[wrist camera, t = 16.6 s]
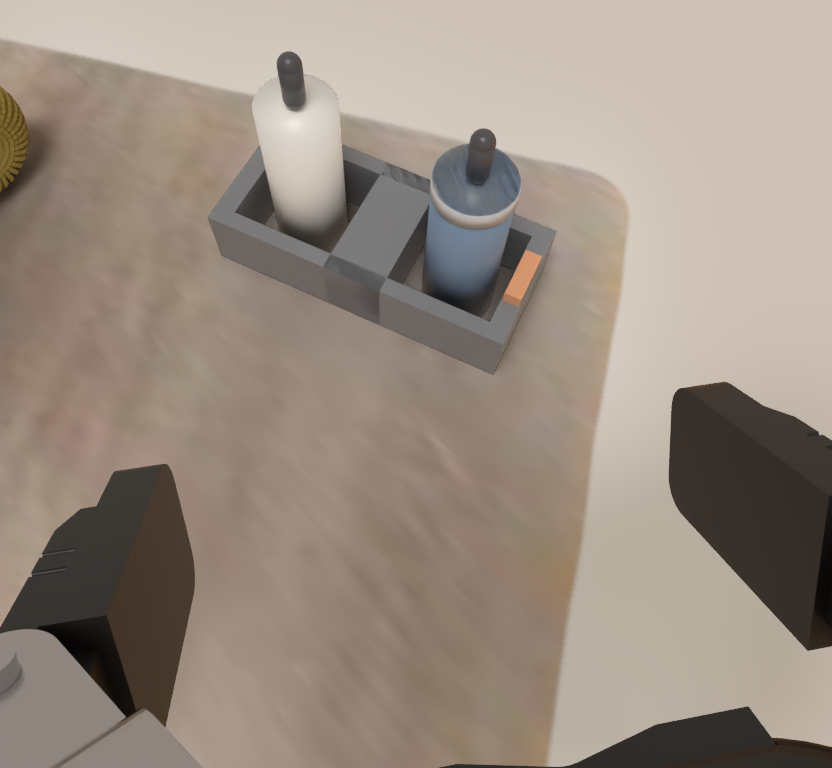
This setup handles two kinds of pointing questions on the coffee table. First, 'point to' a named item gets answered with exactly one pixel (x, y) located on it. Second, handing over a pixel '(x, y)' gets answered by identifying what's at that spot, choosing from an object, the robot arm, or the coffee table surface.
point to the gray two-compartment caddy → (355, 225)
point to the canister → (469, 222)
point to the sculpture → (11, 138)
